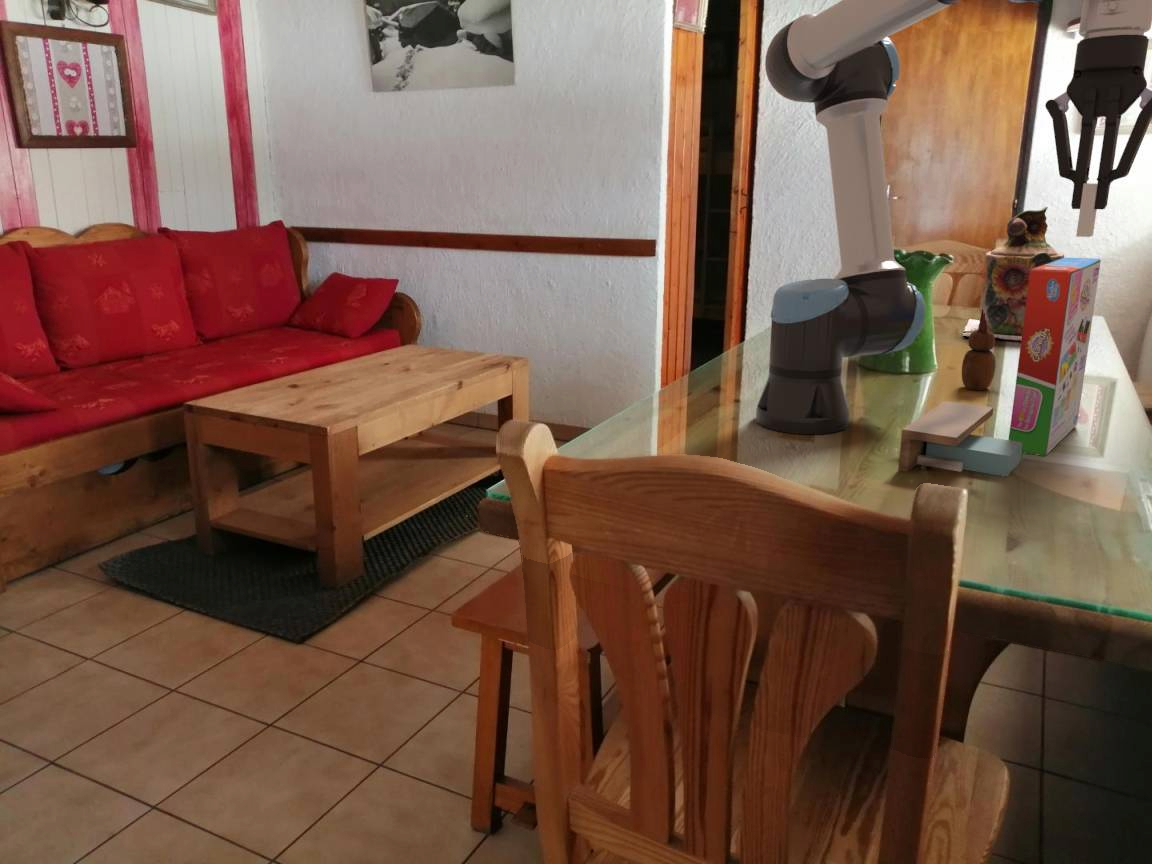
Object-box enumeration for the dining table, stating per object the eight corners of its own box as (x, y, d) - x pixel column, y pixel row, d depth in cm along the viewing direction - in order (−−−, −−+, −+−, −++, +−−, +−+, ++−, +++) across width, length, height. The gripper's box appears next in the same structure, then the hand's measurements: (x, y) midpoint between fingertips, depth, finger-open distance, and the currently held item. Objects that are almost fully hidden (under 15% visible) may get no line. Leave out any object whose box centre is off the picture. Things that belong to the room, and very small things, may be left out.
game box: (1041, 421, 151) (1063, 256, 144) (1077, 427, 148) (1102, 258, 140) (1006, 450, 136) (1029, 267, 128) (1045, 457, 132) (1072, 269, 125)
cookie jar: (967, 324, 248) (980, 204, 239) (1068, 330, 237) (1086, 205, 228) (960, 339, 226) (974, 208, 218) (1071, 346, 216) (1091, 208, 207)
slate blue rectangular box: (924, 462, 130) (927, 442, 129) (941, 449, 136) (943, 430, 136) (1006, 476, 124) (1009, 455, 123) (1020, 462, 130) (1022, 442, 129)
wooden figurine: (962, 383, 179) (971, 307, 175) (994, 386, 176) (1004, 309, 172) (957, 390, 173) (965, 312, 169) (989, 393, 170) (999, 314, 166)
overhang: (898, 470, 127) (902, 429, 125) (940, 437, 142) (944, 400, 141) (951, 480, 123) (956, 437, 121) (988, 445, 138) (993, 407, 136)
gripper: (1047, 38, 110) (1022, 236, 116) (1174, 27, 102) (1140, 239, 109) (1059, 44, 116) (1035, 232, 122) (1180, 34, 108) (1147, 236, 115)
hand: (1084, 235), depth 115 cm, fingers closed
